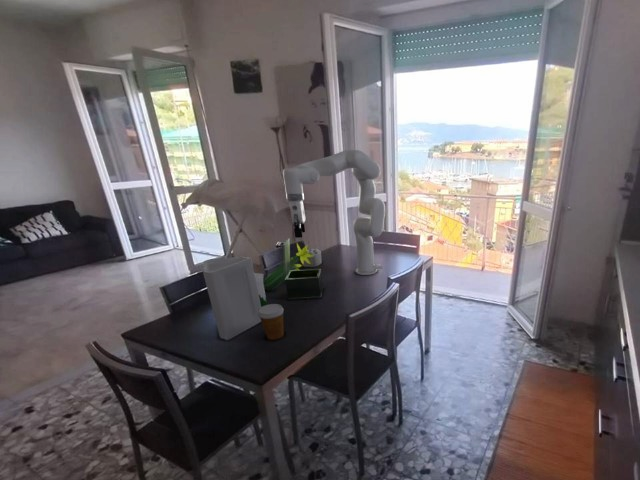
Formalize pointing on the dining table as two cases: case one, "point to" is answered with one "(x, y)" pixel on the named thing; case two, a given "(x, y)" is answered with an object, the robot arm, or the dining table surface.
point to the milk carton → (261, 289)
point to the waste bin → (304, 284)
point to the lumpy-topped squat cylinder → (313, 258)
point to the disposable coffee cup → (272, 320)
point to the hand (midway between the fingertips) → (300, 234)
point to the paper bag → (232, 294)
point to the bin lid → (285, 255)
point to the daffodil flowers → (279, 271)
